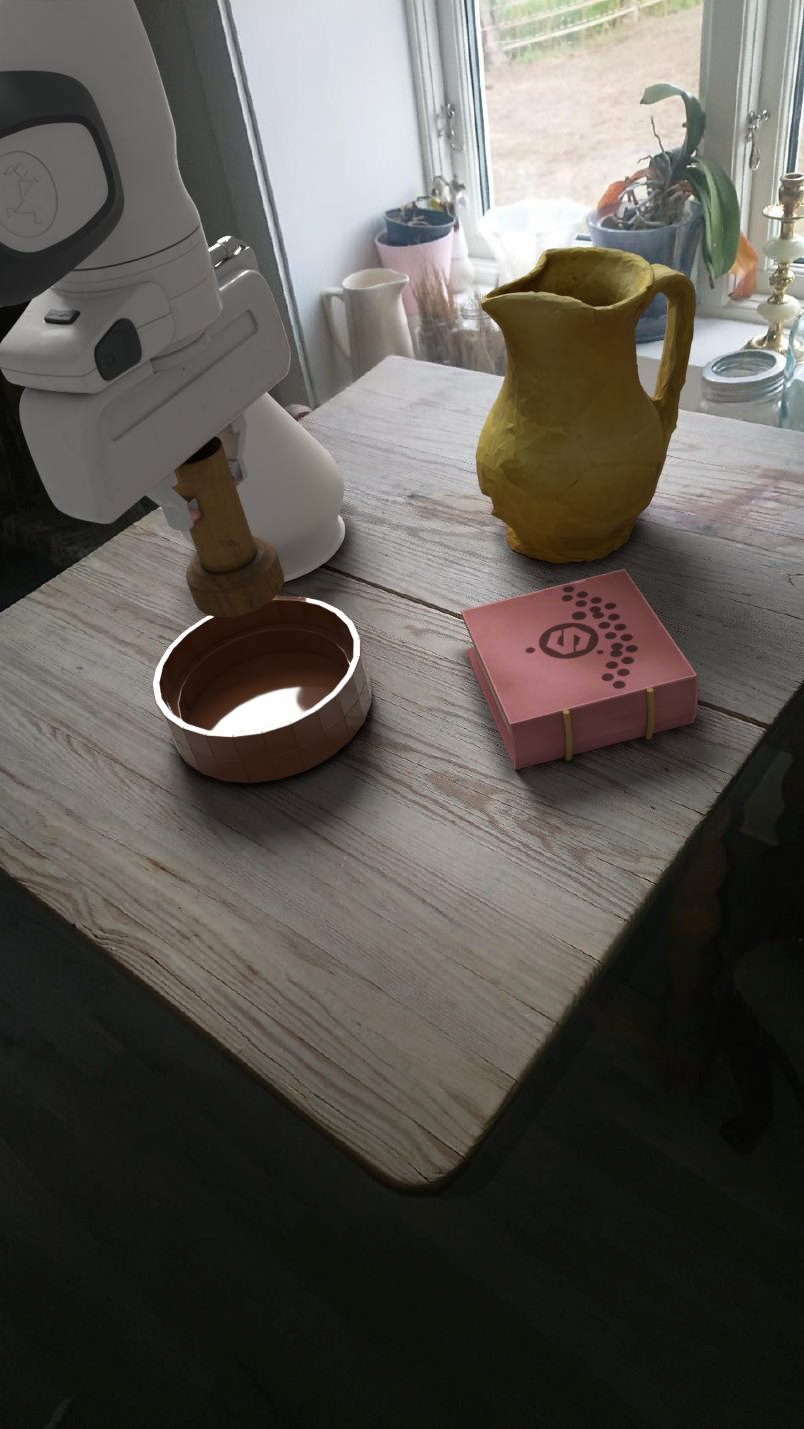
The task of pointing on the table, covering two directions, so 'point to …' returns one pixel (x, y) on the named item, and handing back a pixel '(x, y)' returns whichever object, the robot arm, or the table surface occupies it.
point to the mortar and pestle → (225, 541)
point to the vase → (289, 489)
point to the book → (578, 668)
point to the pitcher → (581, 401)
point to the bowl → (264, 690)
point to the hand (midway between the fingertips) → (210, 503)
